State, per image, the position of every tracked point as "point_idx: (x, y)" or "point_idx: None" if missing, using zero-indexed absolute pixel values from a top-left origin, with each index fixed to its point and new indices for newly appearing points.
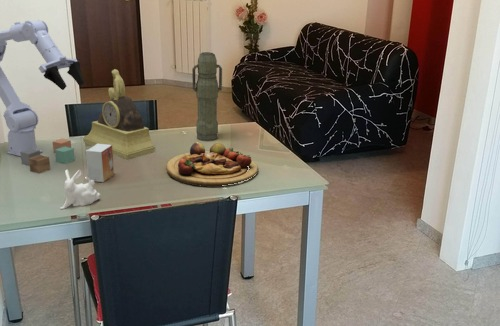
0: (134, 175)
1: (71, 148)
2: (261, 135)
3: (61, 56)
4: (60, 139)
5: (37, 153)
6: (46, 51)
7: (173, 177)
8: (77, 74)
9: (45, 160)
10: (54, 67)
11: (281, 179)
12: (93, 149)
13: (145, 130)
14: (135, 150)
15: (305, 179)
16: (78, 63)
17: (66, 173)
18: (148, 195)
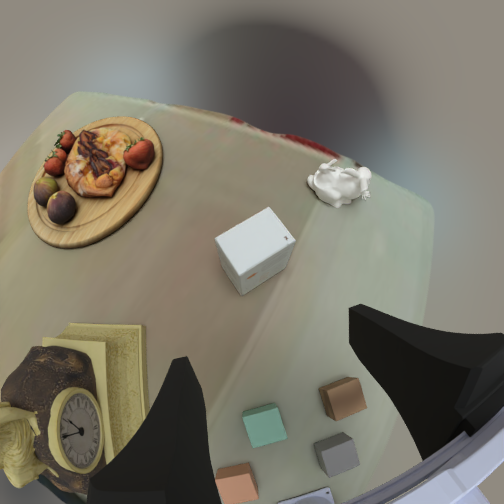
0: (194, 234)
1: (247, 422)
2: None
3: (460, 497)
4: (233, 501)
5: (327, 447)
6: None
7: (159, 172)
8: (187, 423)
9: (336, 385)
10: (489, 350)
11: (80, 112)
12: (275, 234)
13: (53, 338)
14: (113, 328)
15: (70, 104)
16: (107, 481)
17: (366, 184)
18: (235, 152)
